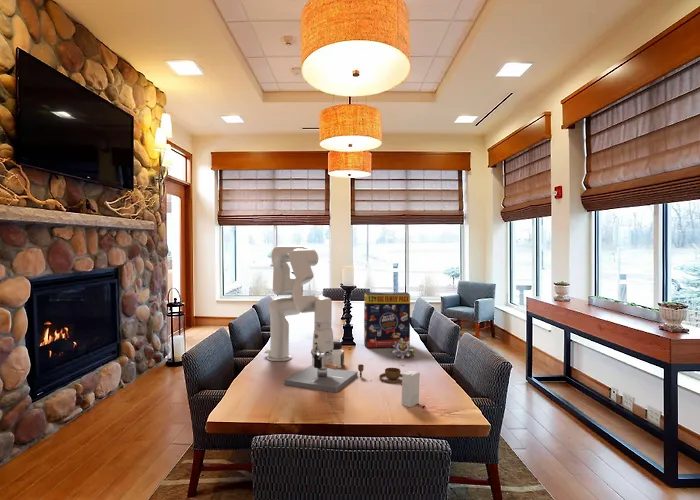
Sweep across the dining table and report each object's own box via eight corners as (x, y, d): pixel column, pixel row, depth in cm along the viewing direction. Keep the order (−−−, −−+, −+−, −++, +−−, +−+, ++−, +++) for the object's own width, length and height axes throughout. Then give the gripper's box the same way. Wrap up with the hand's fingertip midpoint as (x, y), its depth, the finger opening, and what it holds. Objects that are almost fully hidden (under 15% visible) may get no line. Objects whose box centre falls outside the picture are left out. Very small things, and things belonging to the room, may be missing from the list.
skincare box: (409, 400, 170) (410, 369, 170) (419, 403, 167) (420, 371, 167) (400, 405, 165) (401, 373, 165) (411, 408, 163) (411, 375, 162)
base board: (284, 384, 187) (284, 379, 187) (310, 369, 210) (310, 365, 210) (335, 392, 178) (335, 387, 178) (357, 376, 200) (357, 371, 200)
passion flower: (402, 368, 232) (390, 351, 229) (397, 359, 243) (386, 343, 239) (420, 357, 232) (408, 339, 229) (414, 348, 243) (403, 331, 240)
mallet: (332, 371, 186) (332, 359, 186) (312, 366, 193) (312, 354, 193) (341, 367, 191) (341, 356, 191) (321, 363, 198) (321, 352, 198)
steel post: (315, 376, 193) (315, 367, 193) (319, 373, 197) (320, 364, 197) (324, 377, 191) (324, 368, 191) (328, 375, 195) (328, 366, 195)
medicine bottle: (340, 368, 212) (341, 343, 212) (326, 367, 214) (326, 342, 214) (344, 364, 219) (344, 340, 219) (330, 363, 221) (330, 339, 221)
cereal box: (406, 343, 267) (406, 291, 267) (411, 347, 255) (411, 292, 256) (363, 344, 264) (363, 291, 264) (366, 348, 252) (366, 293, 253)
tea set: (391, 388, 186) (392, 374, 186) (355, 378, 199) (355, 365, 199) (414, 378, 199) (414, 366, 199) (378, 370, 212) (378, 357, 212)
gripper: (318, 329, 184) (317, 372, 184) (340, 323, 199) (340, 362, 199) (303, 327, 188) (303, 369, 188) (327, 321, 203) (326, 360, 203)
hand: (322, 365), depth 194 cm, fingers closed on mallet, 6 cm apart
